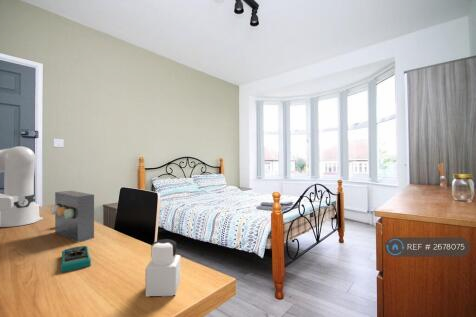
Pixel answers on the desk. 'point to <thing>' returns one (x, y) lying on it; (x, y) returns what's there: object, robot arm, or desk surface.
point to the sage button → (69, 213)
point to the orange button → (61, 211)
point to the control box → (83, 219)
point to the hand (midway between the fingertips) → (23, 197)
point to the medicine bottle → (163, 269)
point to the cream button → (55, 209)
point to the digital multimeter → (75, 258)
